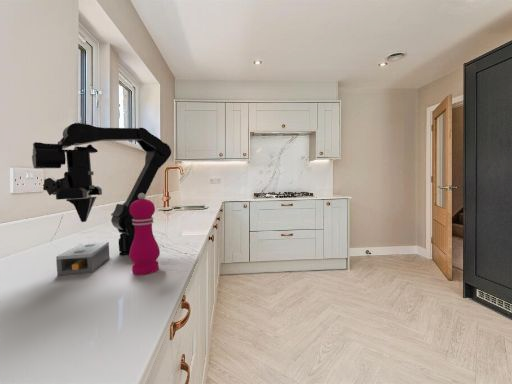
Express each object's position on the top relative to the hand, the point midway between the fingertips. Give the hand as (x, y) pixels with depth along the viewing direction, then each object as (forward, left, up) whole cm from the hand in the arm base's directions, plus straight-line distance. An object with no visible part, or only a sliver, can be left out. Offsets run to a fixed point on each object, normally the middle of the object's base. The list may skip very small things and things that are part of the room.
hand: (83, 221), depth 80 cm
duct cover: (-1, +4, -8) cm, 9 cm away
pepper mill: (-19, +14, -12) cm, 27 cm away
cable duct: (-1, +4, -12) cm, 13 cm away
